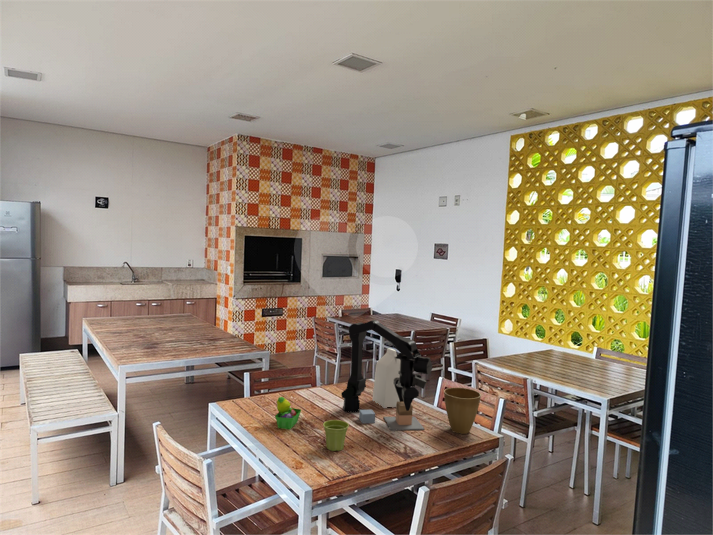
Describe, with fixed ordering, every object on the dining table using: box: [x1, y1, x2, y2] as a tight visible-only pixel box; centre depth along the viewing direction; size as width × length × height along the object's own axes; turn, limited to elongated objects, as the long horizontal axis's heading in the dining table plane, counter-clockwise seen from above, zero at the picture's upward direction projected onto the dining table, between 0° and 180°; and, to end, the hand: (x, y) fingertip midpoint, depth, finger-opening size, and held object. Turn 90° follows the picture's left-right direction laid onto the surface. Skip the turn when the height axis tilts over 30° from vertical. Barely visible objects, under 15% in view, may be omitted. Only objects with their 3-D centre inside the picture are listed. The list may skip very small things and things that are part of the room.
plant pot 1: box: [322, 419, 350, 452], centre depth 172 cm, size 9×9×9 cm
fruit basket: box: [274, 396, 302, 430], centre depth 192 cm, size 11×9×11 cm
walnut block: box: [395, 402, 414, 416], centre depth 200 cm, size 6×6×4 cm
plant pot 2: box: [443, 387, 482, 435], centre depth 196 cm, size 15×15×16 cm
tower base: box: [383, 410, 425, 431], centre depth 200 cm, size 14×14×5 cm
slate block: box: [358, 409, 376, 424], centre depth 202 cm, size 6×6×4 cm
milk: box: [372, 347, 404, 409], centre depth 226 cm, size 12×12×26 cm
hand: (404, 406), depth 200 cm, fingers open, 9 cm apart
